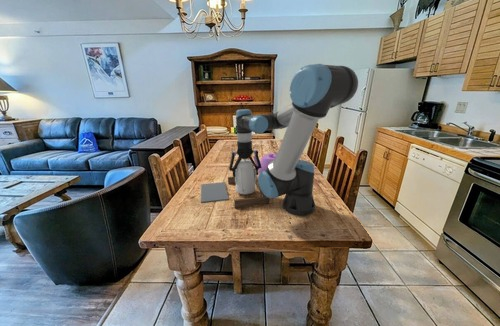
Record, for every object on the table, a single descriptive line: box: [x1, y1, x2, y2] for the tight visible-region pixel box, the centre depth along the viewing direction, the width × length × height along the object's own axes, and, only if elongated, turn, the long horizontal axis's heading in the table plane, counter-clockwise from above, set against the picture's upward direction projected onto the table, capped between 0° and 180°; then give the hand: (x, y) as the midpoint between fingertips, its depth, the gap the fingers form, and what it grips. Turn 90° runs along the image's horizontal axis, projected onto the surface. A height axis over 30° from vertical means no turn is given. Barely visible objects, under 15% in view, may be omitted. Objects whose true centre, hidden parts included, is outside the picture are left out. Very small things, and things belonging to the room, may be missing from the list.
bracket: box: [227, 175, 271, 209], centre depth 119 cm, size 30×17×4 cm, turn 12°
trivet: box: [200, 181, 229, 204], centre depth 121 cm, size 22×14×1 cm, turn 12°
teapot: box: [252, 152, 277, 174], centre depth 143 cm, size 20×20×15 cm
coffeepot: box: [235, 158, 257, 195], centre depth 116 cm, size 11×25×19 cm, turn 168°
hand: (245, 181), depth 117 cm, fingers closed on coffeepot, 10 cm apart
